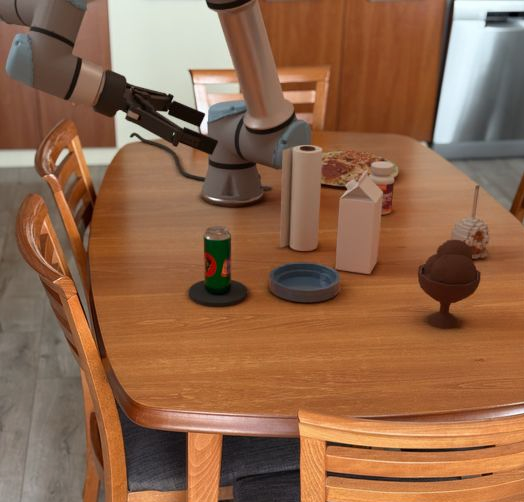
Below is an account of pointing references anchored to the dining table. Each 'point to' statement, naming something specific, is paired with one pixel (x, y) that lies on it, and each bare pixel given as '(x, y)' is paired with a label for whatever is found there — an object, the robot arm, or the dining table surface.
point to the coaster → (207, 299)
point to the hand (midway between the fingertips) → (208, 133)
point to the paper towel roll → (300, 197)
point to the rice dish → (348, 166)
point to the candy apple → (473, 232)
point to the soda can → (217, 260)
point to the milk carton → (359, 226)
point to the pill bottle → (383, 183)
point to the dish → (304, 282)
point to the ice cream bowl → (449, 279)
